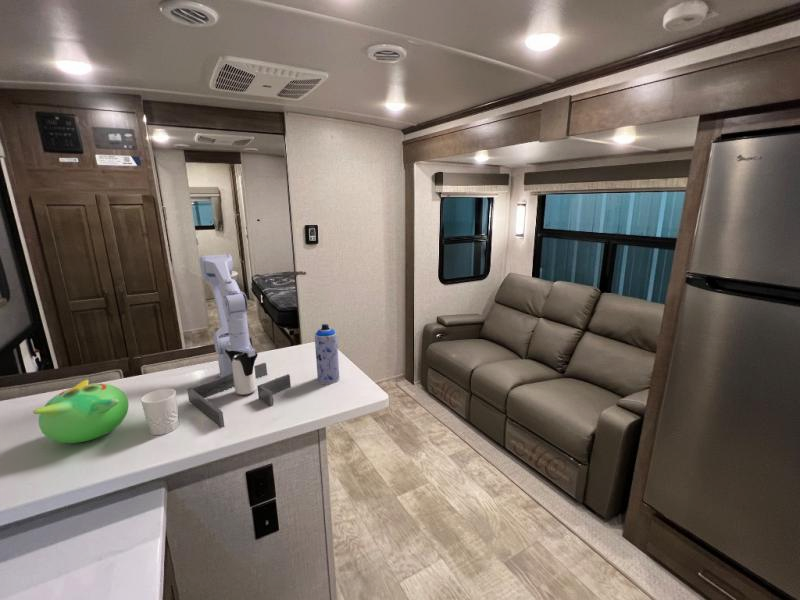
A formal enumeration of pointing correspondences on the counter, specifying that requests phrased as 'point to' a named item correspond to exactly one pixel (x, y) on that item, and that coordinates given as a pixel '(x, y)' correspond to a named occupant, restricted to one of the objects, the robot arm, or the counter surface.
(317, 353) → the aerosol can
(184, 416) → the counter surface
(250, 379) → the can
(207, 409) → the rail channel
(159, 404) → the white cup
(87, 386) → the toy bird
